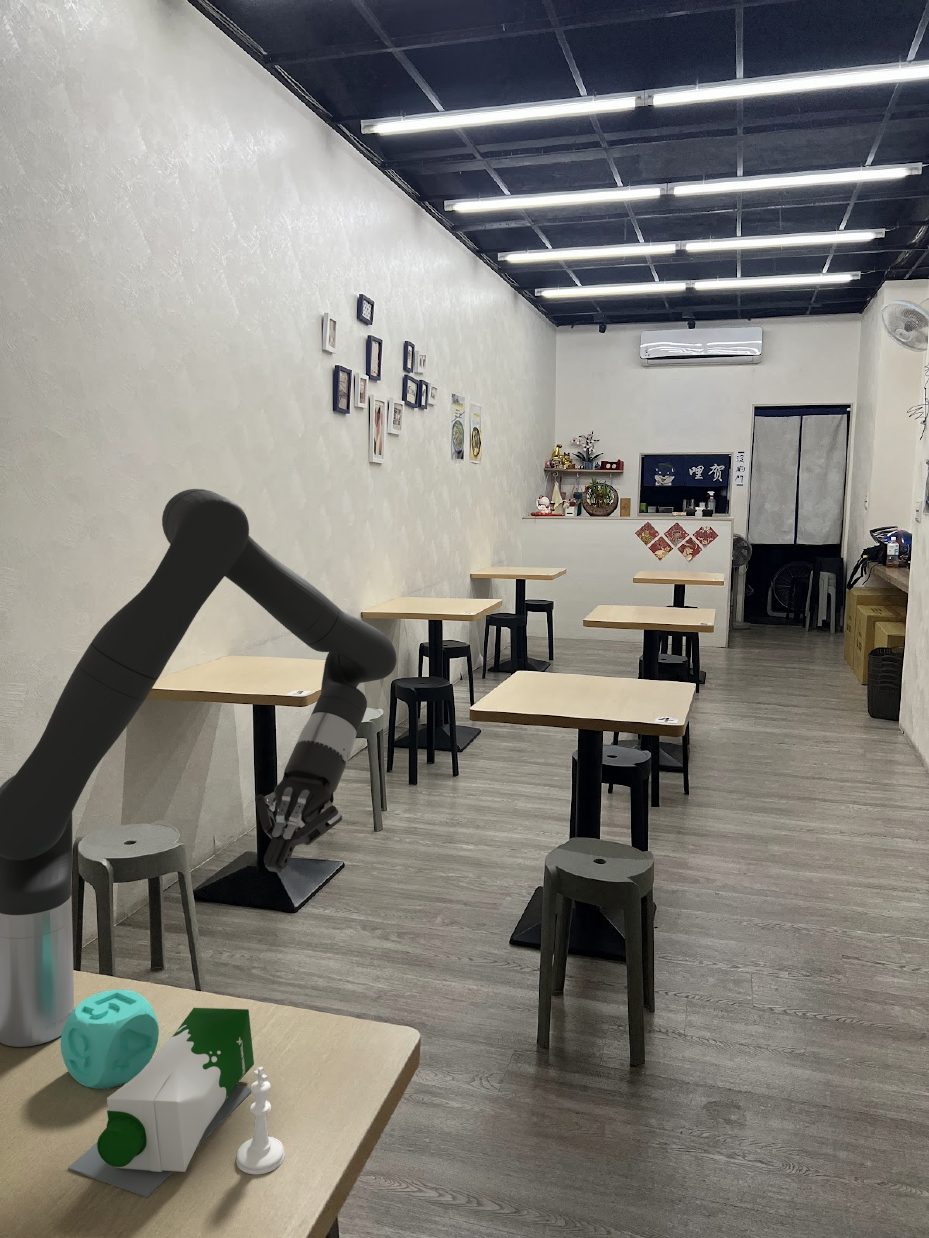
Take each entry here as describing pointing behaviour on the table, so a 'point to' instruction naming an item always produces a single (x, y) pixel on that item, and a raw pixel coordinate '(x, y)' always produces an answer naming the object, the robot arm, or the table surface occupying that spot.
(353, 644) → the robot arm
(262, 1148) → the chess piece
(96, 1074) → the decorative dice
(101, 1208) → the table surface
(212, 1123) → the mat
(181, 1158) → the soya milk
